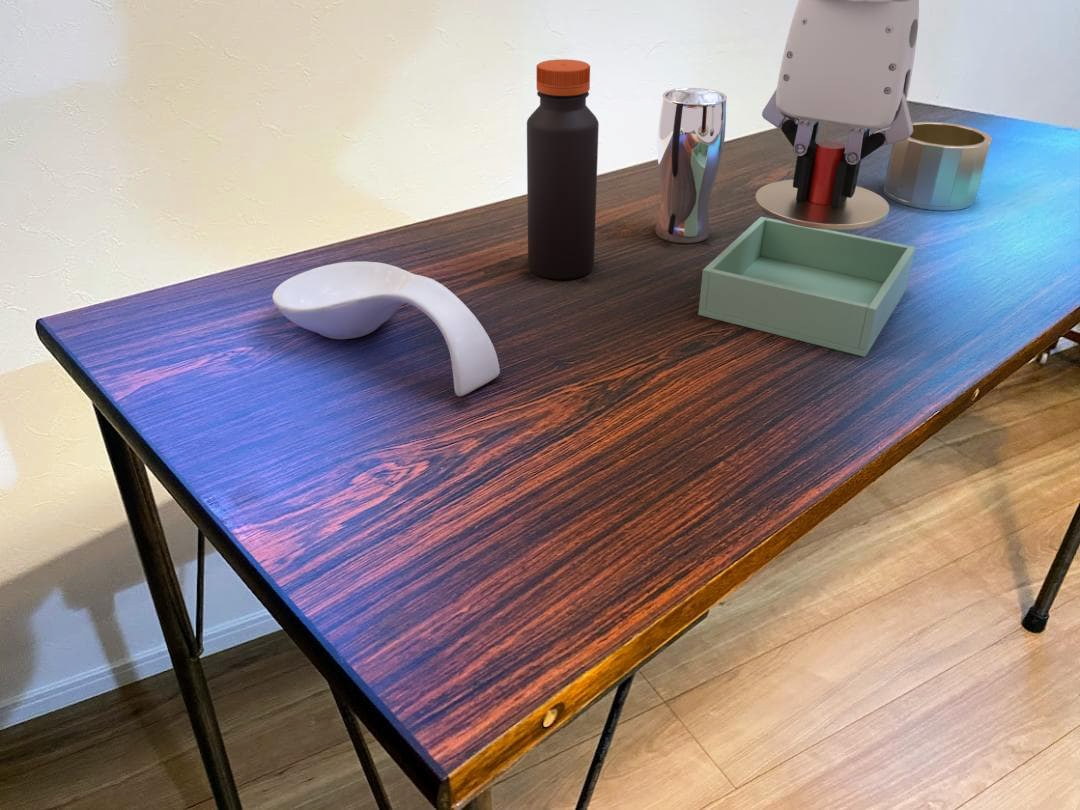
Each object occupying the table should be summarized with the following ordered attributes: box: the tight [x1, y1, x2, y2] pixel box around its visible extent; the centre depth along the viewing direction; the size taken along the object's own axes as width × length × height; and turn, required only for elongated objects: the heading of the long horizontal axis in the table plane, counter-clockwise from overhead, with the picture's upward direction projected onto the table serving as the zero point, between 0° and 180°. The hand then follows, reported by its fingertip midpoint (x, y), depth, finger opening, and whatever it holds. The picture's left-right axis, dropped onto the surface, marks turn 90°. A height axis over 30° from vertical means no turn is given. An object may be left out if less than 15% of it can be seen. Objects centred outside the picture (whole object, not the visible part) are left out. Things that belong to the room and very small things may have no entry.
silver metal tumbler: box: [654, 87, 728, 244], centre depth 97 cm, size 7×7×15 cm
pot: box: [883, 121, 993, 212], centre depth 109 cm, size 11×11×8 cm
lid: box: [754, 140, 890, 231], centre depth 80 cm, size 12×12×6 cm
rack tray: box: [697, 216, 917, 358], centre depth 85 cm, size 15×15×5 cm
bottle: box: [526, 58, 600, 281], centre depth 88 cm, size 7×7×20 cm
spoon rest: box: [271, 261, 501, 397], centre depth 78 cm, size 24×12×7 cm, turn 49°
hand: (821, 198), depth 81 cm, fingers closed on lid, 2 cm apart
